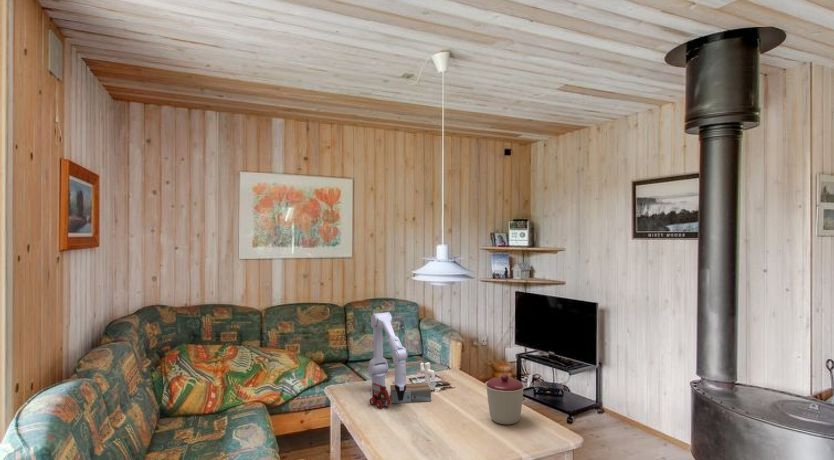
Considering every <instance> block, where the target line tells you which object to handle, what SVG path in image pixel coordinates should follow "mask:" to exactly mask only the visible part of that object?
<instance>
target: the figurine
mask: <svg viewBox="0 0 834 460" xmlns="http://www.w3.org/2000/svg"><path fill="white" fill-rule="evenodd" d="M419 365H420V366H419V370H420V373H421V374H424V381H422V382H421V383H428V385H429V387H430V390H432V391H433V390H434V389H435V387H436V386H437V384H438V383H437V382H434V381H435V380H436V372H435V370H433V369H431V362H429V361H428V362H427V361H426V362H425V363H424V362H420V364H419Z"/></svg>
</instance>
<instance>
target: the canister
mask: <svg viewBox="0 0 834 460" xmlns="http://www.w3.org/2000/svg"><path fill="white" fill-rule="evenodd" d="M484 386H485V388H486V395H487V404H488V409H489V410H488V411H489V415H490V418H491V420H492V421H493V422H494V423H496V424H500V425H505V426H508V425H514V424H516V423H518V422H519V421H520V418H521V415H522V407H523V399H524V398H523V396H524V390H525V388H526V384H525V383H523V382H522V381H520V380H519V379H516V378H513V377H509V375H508V374H506V373H504V374H501V375H500V376H499V377H493V378H490V379H489V380H487V381H486V382H485V383H484Z"/></svg>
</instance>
